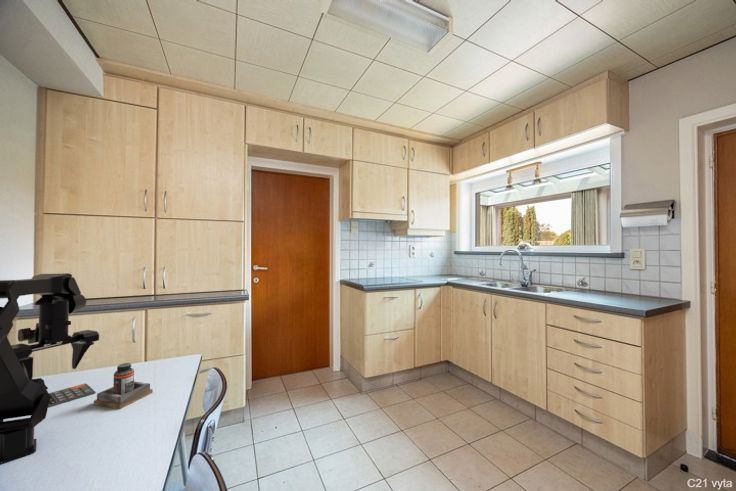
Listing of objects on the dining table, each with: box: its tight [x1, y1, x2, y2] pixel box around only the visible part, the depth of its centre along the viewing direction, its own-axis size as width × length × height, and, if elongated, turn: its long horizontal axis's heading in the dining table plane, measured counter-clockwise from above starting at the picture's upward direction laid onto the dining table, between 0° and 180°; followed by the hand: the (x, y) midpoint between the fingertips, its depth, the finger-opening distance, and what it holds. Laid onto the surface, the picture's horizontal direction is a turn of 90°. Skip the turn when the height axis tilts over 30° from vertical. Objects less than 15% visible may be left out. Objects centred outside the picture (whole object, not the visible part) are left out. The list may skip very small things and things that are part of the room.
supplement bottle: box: [112, 362, 135, 395], centre depth 95 cm, size 5×5×10 cm
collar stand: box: [93, 381, 154, 410], centre depth 95 cm, size 10×10×3 cm
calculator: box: [48, 382, 96, 408], centre depth 96 cm, size 12×1×15 cm
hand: (52, 374), depth 82 cm, fingers open, 9 cm apart
